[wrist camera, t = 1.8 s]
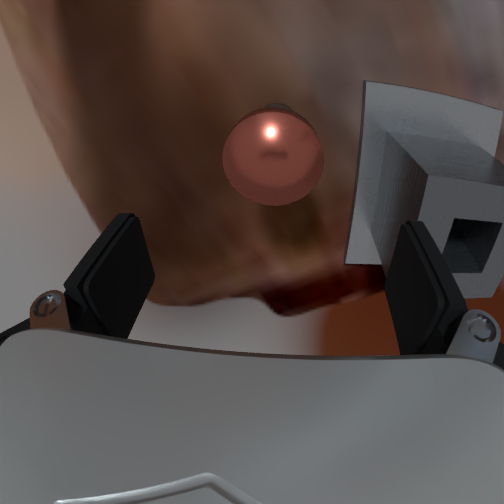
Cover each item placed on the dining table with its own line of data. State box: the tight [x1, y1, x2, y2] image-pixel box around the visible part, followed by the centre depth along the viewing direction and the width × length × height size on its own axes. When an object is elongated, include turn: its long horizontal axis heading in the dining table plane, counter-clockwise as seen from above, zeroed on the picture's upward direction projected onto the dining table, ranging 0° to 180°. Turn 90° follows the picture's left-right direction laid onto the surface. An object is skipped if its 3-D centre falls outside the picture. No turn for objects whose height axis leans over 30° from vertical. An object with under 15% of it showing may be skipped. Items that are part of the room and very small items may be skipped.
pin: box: [222, 103, 324, 206], centre depth 20 cm, size 6×6×10 cm
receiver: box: [344, 80, 504, 298], centre depth 22 cm, size 18×14×10 cm
